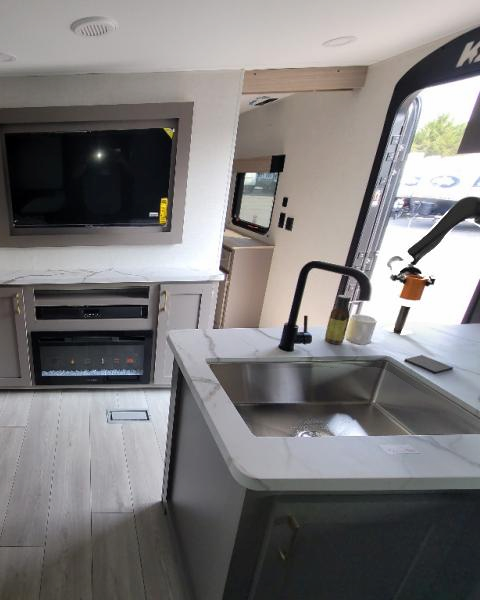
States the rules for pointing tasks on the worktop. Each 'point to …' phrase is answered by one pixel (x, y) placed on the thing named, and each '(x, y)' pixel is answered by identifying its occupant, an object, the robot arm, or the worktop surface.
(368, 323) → the mug
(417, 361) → the mat
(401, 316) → the stand
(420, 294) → the orange spice jar
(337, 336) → the sauce bottle
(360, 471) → the worktop surface
